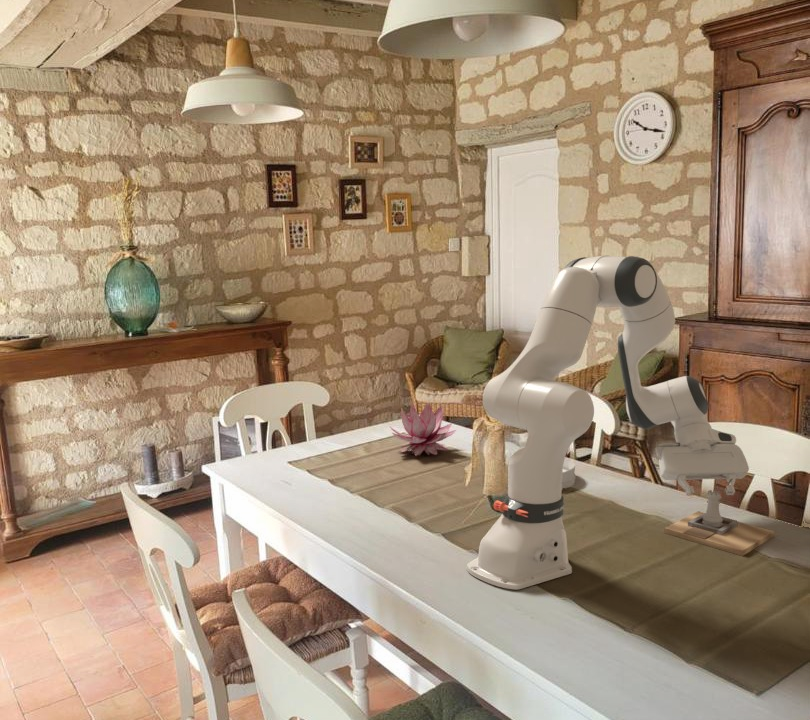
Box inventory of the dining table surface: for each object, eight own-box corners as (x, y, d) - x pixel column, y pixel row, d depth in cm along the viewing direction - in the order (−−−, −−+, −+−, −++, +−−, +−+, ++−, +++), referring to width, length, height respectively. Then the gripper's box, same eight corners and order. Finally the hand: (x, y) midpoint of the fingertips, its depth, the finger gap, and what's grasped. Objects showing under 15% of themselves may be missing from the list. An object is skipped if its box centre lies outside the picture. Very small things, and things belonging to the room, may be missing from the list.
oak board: (742, 556, 158) (743, 546, 158) (664, 532, 171) (664, 523, 171) (774, 536, 168) (774, 527, 168) (698, 516, 182) (698, 507, 181)
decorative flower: (385, 446, 250) (384, 402, 248) (446, 442, 254) (446, 399, 252) (395, 463, 229) (395, 415, 227) (462, 459, 233) (462, 412, 231)
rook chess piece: (705, 520, 175) (706, 487, 174) (725, 524, 172) (726, 491, 171) (699, 526, 171) (701, 492, 170) (719, 530, 169) (721, 496, 167)
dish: (576, 494, 199) (576, 476, 199) (493, 490, 204) (493, 472, 203) (574, 470, 221) (574, 454, 220) (499, 467, 225) (499, 451, 225)
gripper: (657, 436, 179) (670, 488, 170) (741, 435, 179) (759, 487, 171) (650, 449, 184) (662, 501, 175) (732, 448, 184) (748, 499, 176)
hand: (710, 494), depth 173 cm, fingers open, 8 cm apart
